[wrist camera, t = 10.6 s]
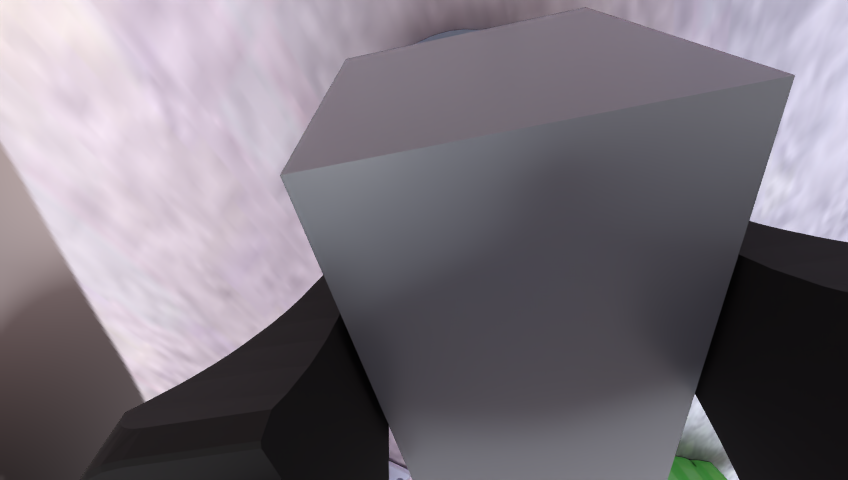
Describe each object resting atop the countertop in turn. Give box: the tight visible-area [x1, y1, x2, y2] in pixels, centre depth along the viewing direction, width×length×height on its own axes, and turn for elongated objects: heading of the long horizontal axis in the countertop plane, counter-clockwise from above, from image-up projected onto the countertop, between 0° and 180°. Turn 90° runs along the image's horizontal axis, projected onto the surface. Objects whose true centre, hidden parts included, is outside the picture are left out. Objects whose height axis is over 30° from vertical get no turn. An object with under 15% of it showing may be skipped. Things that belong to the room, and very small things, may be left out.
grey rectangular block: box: [280, 7, 795, 480], centre depth 11 cm, size 11×6×7 cm, turn 11°
